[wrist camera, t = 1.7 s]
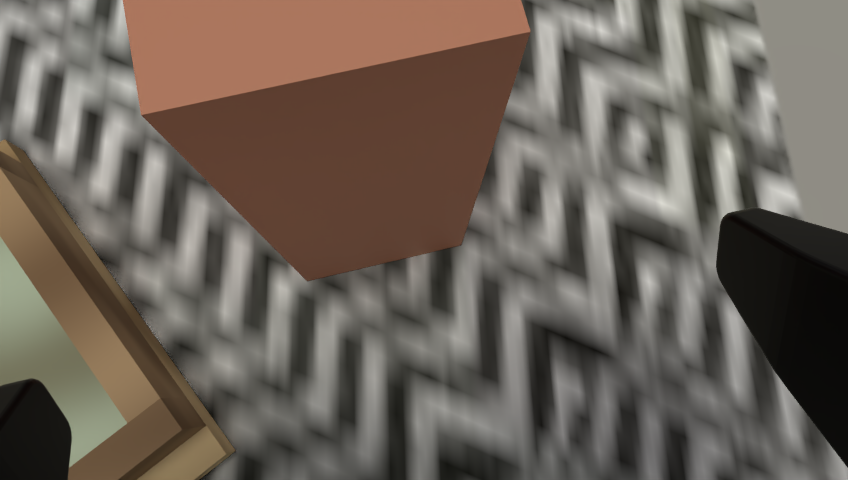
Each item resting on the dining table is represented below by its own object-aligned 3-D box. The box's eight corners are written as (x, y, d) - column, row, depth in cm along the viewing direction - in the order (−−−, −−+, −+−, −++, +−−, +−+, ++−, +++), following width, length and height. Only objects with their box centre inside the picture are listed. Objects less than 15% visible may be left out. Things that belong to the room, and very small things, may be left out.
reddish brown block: (461, 245, 21) (530, 31, 9) (307, 281, 21) (140, 114, 8) (424, 103, 22) (437, -275, 10) (277, 135, 22) (89, -213, 9)
